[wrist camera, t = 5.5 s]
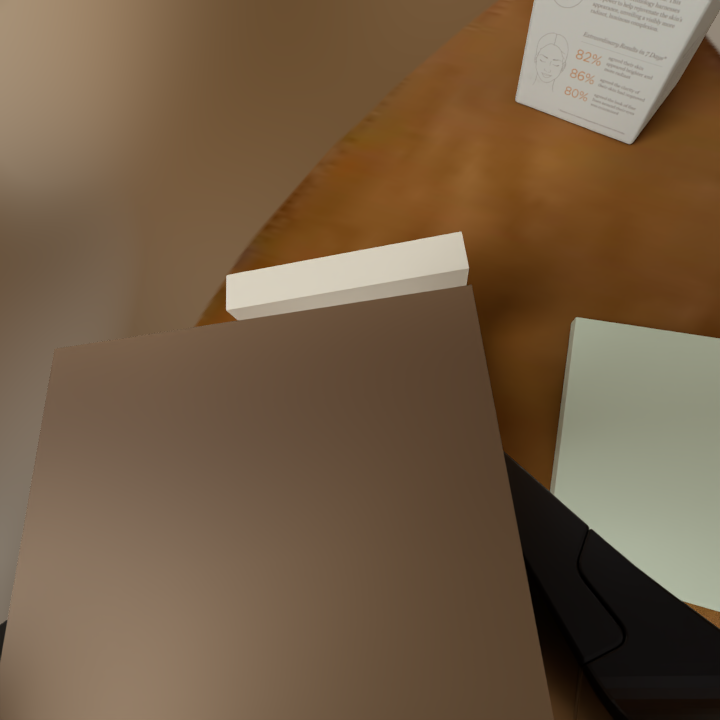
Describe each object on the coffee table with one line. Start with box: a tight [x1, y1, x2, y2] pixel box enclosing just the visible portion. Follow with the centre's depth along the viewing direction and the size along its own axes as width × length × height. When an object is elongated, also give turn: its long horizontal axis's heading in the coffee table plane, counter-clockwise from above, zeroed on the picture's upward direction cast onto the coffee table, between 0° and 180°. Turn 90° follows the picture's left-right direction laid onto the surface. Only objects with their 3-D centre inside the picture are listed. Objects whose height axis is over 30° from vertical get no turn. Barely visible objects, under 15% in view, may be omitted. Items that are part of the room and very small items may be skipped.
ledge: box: [226, 232, 469, 321], centre depth 17 cm, size 11×9×9 cm
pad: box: [550, 317, 720, 612], centre depth 19 cm, size 12×10×1 cm
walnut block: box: [0, 285, 554, 720], centre depth 8 cm, size 5×5×10 cm
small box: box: [515, 0, 720, 144], centre depth 21 cm, size 8×6×10 cm
